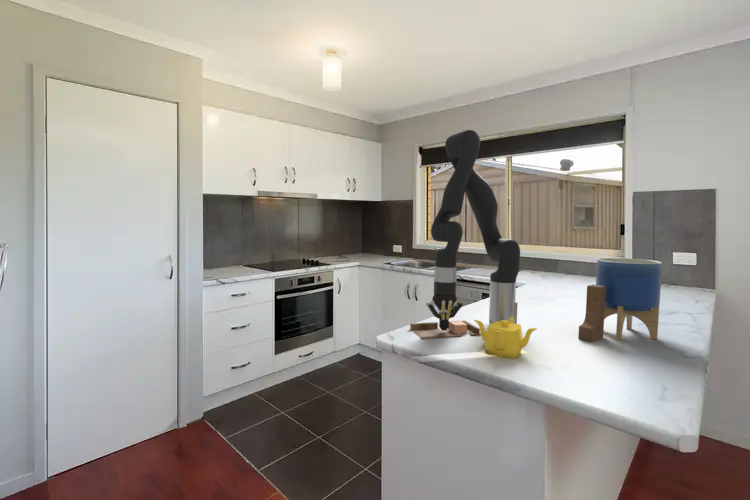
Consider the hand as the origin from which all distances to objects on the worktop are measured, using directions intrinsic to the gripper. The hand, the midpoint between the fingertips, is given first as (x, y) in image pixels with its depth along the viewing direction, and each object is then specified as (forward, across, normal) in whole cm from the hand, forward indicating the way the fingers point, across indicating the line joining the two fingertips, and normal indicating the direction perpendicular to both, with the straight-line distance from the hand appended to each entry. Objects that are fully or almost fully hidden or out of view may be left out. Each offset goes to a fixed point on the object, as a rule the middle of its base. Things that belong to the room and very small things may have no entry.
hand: (443, 329), depth 134 cm
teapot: (+3, -12, +18) cm, 22 cm away
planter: (+2, -65, +11) cm, 66 cm away
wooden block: (+2, -49, +13) cm, 51 cm away
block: (+1, -5, 0) cm, 5 cm away
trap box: (+2, 0, 0) cm, 2 cm away
